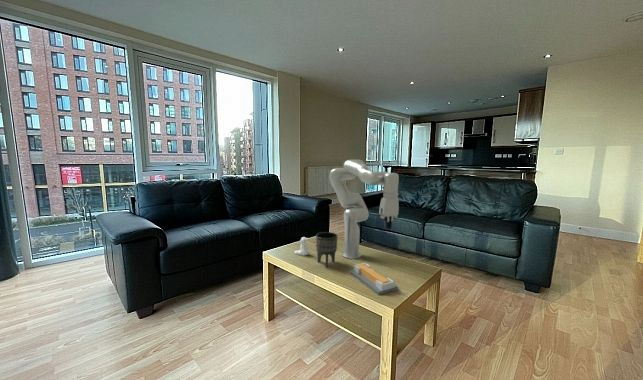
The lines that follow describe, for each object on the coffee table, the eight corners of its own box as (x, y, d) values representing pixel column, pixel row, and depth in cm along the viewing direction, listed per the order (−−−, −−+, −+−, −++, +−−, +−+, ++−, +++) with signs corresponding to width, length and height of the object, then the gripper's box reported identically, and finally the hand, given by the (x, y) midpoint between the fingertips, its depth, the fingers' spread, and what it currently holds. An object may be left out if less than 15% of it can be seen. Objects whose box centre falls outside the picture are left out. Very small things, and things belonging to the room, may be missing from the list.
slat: (356, 271, 143) (357, 265, 142) (362, 269, 144) (363, 263, 144) (382, 289, 123) (382, 282, 122) (389, 287, 125) (389, 280, 124)
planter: (311, 265, 153) (311, 236, 151) (321, 257, 165) (322, 230, 163) (331, 269, 147) (331, 239, 145) (340, 261, 159) (340, 233, 157)
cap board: (350, 273, 143) (350, 265, 142) (367, 269, 148) (368, 262, 148) (378, 294, 121) (378, 285, 120) (398, 289, 126) (398, 280, 125)
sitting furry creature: (305, 250, 177) (305, 233, 176) (313, 254, 171) (313, 236, 170) (293, 254, 171) (293, 236, 170) (301, 257, 165) (301, 239, 163)
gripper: (396, 194, 147) (394, 225, 149) (374, 195, 141) (373, 227, 144) (405, 196, 140) (403, 228, 143) (383, 197, 134) (381, 231, 137)
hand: (388, 228), depth 143 cm, fingers closed
